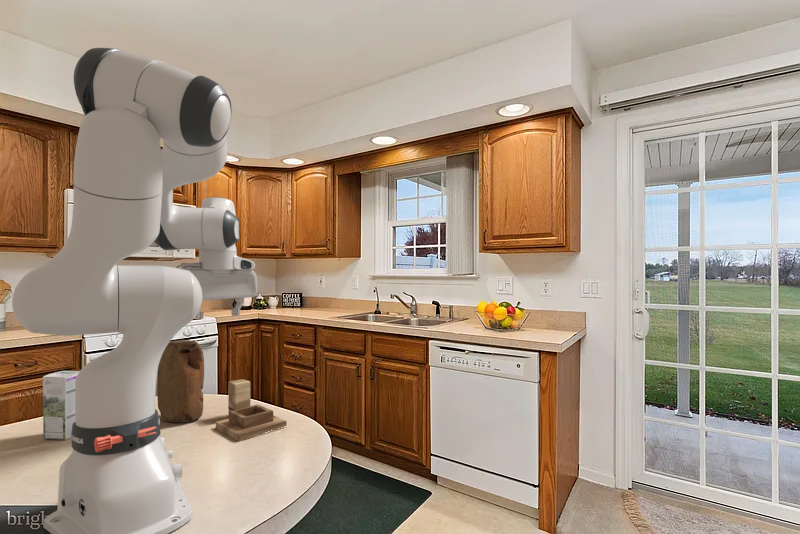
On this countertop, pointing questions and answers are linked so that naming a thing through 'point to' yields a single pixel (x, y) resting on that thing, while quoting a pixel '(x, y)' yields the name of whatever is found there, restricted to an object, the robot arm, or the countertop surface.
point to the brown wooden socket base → (250, 422)
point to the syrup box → (59, 404)
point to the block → (181, 382)
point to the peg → (238, 394)
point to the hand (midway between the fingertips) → (217, 317)
